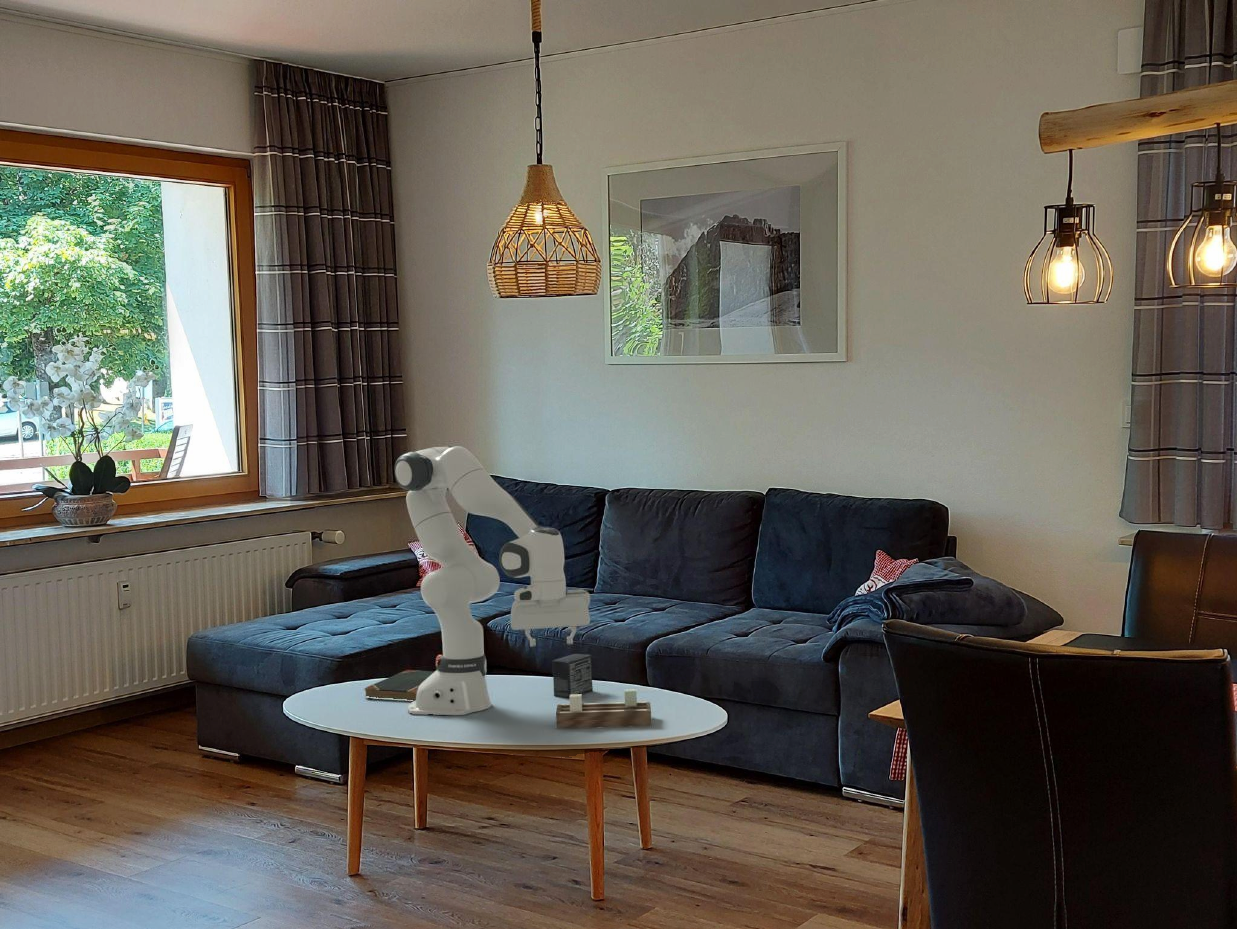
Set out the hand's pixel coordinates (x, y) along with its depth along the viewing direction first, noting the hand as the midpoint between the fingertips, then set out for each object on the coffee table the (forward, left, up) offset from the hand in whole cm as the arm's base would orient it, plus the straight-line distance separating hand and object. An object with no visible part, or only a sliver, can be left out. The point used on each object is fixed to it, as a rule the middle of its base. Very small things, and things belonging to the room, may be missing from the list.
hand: (551, 645), depth 322 cm
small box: (+4, +34, -21) cm, 40 cm away
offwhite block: (+6, -1, -18) cm, 19 cm away
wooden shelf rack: (+13, +1, -21) cm, 24 cm away
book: (-43, +44, -21) cm, 65 cm away
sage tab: (+20, +3, -18) cm, 27 cm away
